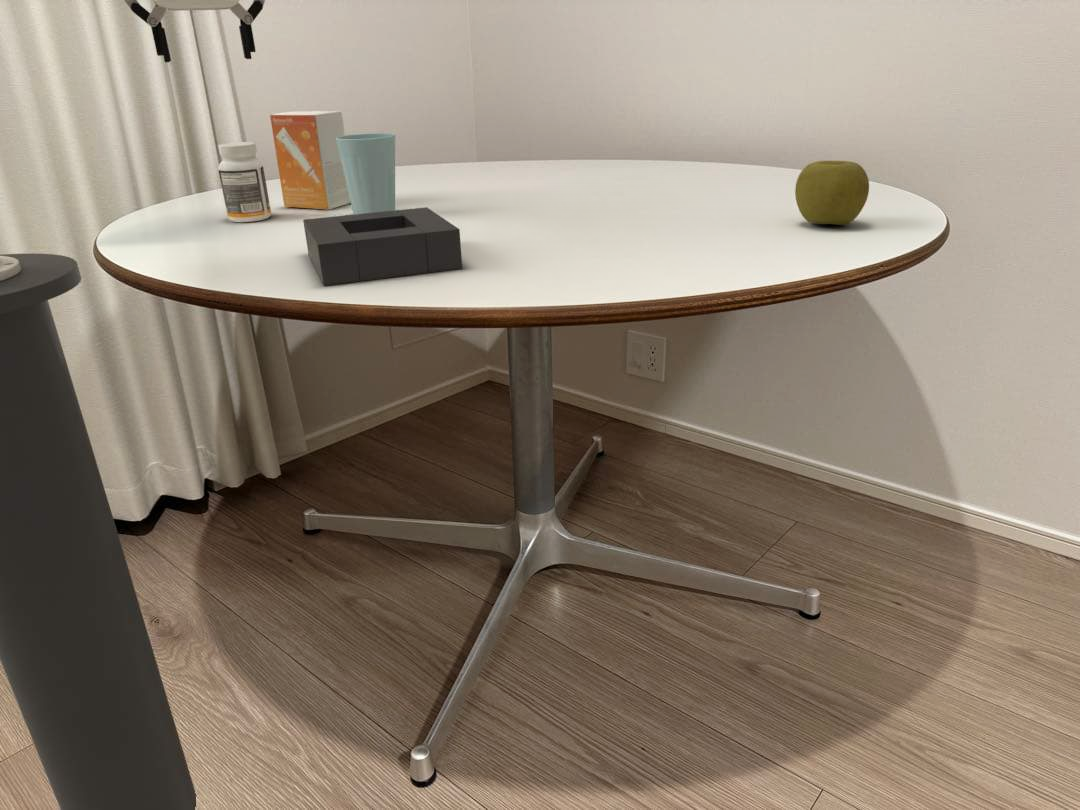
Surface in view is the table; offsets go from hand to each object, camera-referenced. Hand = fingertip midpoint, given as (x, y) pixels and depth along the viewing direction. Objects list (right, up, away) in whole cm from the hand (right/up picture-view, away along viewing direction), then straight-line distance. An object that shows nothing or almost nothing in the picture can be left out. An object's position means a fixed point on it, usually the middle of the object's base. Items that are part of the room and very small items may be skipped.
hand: (208, 60), depth 101 cm
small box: (+10, -15, +16) cm, 24 cm away
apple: (+76, -23, -8) cm, 80 cm away
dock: (+26, -29, -17) cm, 42 cm away
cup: (+20, -18, +7) cm, 28 cm away
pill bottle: (+2, -18, +8) cm, 20 cm away
